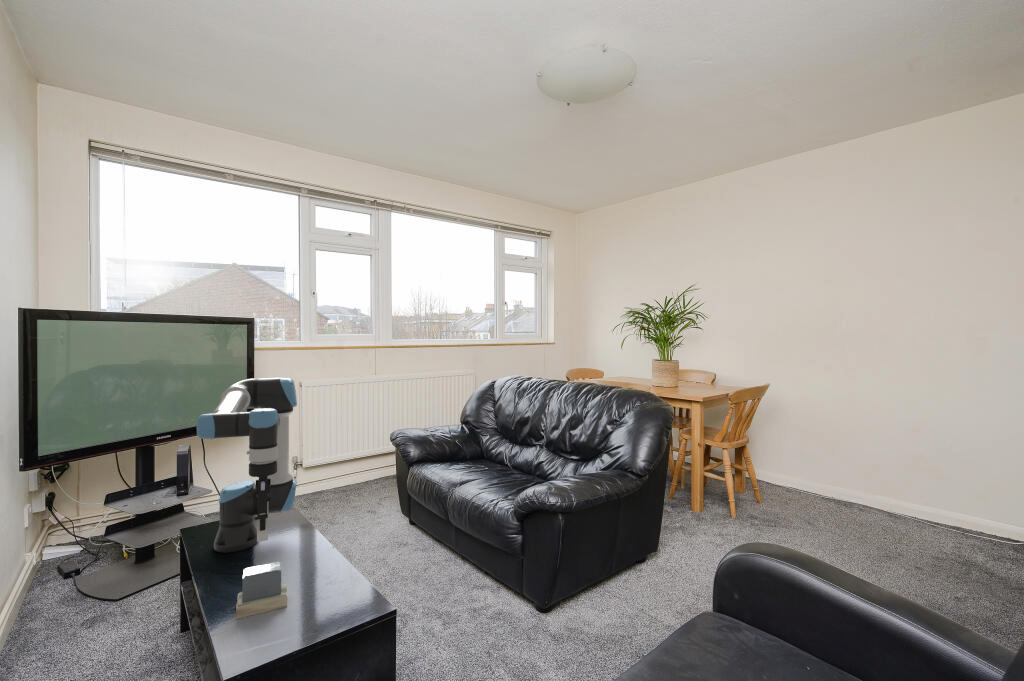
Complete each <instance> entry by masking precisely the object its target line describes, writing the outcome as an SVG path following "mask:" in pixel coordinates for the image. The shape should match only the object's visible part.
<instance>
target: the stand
mask: <svg viewBox="0 0 1024 681" xmlns="http://www.w3.org/2000/svg"><path fill="white" fill-rule="evenodd" d="M236 600H237V601H236V605H235V607H236V609H235V611H236V612H235V619H241V618H242V619H243V618H245V617H250V616H253V615H258V614H262V613H267V612H271V611H273V610H274V611H275V610H278V609H279V610H280V609H283V608H286V607H288V587H287V582H281V594H280V595H275V596H271V597H266V598H262V599H258V600H253V601H249V602H244V603H242V591H240V592H239V593H237V599H236Z"/></svg>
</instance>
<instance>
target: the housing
mask: <svg viewBox="0 0 1024 681" xmlns="http://www.w3.org/2000/svg"><path fill="white" fill-rule="evenodd" d="M242 572H243V574H242V577H241V578H242V582H241V583H242V585H241V586H242V587H241V588H242V590H241V592H242V603H244V602H249V601H253V600H258V599H262V598H266V597H271V596H275V595H280V594H281V583H282V561H281V562H280V561H275V562H270V563H265V564H260V565H256V566H250V567H246V568H243V571H242Z"/></svg>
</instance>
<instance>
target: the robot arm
mask: <svg viewBox="0 0 1024 681" xmlns="http://www.w3.org/2000/svg"><path fill="white" fill-rule="evenodd" d="M297 406H298V401H297V390H296V384H295V381H294V379H292V378H289V377H269V378H267V377H265V378H264V377H263V378H247V379H243V380H239V381H238V382H235V383H233V384H232V385H230V386H228V387H227V388H226V389H225V390H224V391H223V392H222V393H221V395H220V402H219V403H218V405H217V406H216V407H215V409H214V411H213V412H212V413H203V414H200V415H199V416H198V417H197V420H196V435H197V438H199V439H200V440H203V439H204V440H207V439H208V440H209V439H210V440H215V439H225V438H239V437H240V438H241V437H248V442H249V444H248V451H246V454H247V455H248V461H249V464H248V475H249V477H252V478H258V479H255V481H254V480H243V481H238V482H237V481H236V482H233V483H231V484H229V485H227V486H225V487H223V488H222V489H221V491H220V493H219V499H218V500H219V501H218V503H219V528H218V530H217V533H216V536H215V539H214V542H213V549H214V551H215V552H217V553H224V554H225V553H233V552H234V553H235V552H240V551H243V550H247V549H249V548H251V547H253V546H255V545H256V544H258V543H259V542H265V541H268V540H269V514H277V513H282V512H288V511H291V510H292V509H293V507H294V503H295V497H296V491H297V484H298V483H297V482H298V481H297V480H295V479H294V476H293V475H292V474H291V473H290V471H289V470H290V466H289V465H290V461H289V459H290V453H289V452H290V449H289V448H290V445H289V444H290V436H289V434H290V433H289V432H290V415H291V414H292V413H293V412H294V408H295V407H297ZM245 409H253V410H250V411H245V412H244V411H243V410H245ZM255 521H256V523H255Z"/></svg>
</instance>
